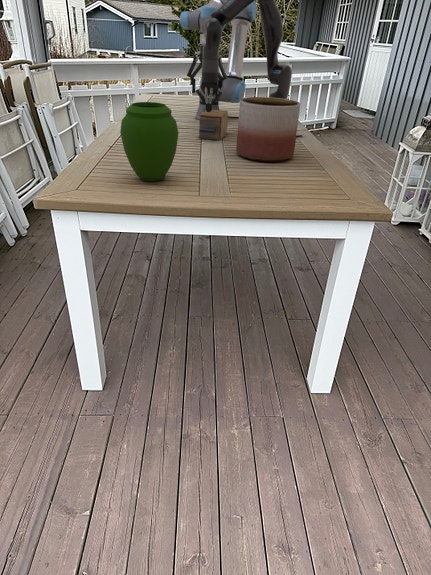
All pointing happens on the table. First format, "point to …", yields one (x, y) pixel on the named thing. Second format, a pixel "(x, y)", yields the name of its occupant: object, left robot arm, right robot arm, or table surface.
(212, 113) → the tan rectangular mottled block
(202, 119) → the drawer
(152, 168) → the vase
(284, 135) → the planter
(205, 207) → the table surface
